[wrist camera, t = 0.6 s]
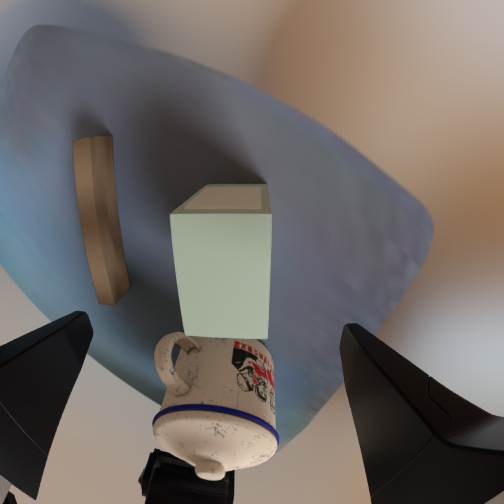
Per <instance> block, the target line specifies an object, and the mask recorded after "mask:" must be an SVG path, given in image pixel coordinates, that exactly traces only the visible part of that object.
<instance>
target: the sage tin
mask: <svg viewBox="0 0 504 504" xmlns="http://www.w3.org/2000/svg"><path fill="white" fill-rule="evenodd" d="M170 224H171V235H172V245H173V254H174V263H175V271H176V279H177V287H178V294H179V301H180V308H181V314H182V320H183V327H184V332H185V335H186V336H200V337H217V338H241V339H268V317H269V292H270V264H271V231H272V211H271V204H270V198H269V191H268V184H207V185H205V186H204V187H203V188H202V189H200V190H199V191H198V192H196V193H195V194H194V195H193V196H191V197H190V198H189V199H188V200H186V201H185V202H184V203H183V204H181V205H180V206H179V207H178V208H177V209H175V210H174V211H173V212H172V213H170Z"/></svg>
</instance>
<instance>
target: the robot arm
mask: <svg viewBox="0 0 504 504" xmlns="http://www.w3.org/2000/svg"><path fill="white" fill-rule="evenodd" d="M92 337H93V328H92V326H91V323H90V320H89V317H88V314H87V313H86V312H83V311H75V312H73V313H71V314H68V315H66V316H64V317H62V318H60V319H57V320H55V321H53V322H51V323H49V324H47V325H44V326H42V327H40V328H38V329H36V330H34V331H31V332H29V333H27V334H25V335H23V336H21V337H19V338H16V339H14V340H12V341H10V342H8V343H6V344H4V345H2V346H0V504H17V502H16V499H15V496H14V495H13V494H12V493H11V492H10V491H9V489H10V487H11V485H14V486H15V487H17V488H18V489H19V490H21V491H22V492H24V493H25V494H27V495H28V496H30V497H31V498H33V499H34V500H36V498H37V495H38V491H39V487H40V483H41V479H42V475H43V472H44V468H45V465H46V461H47V458H48V454H49V451H50V448H51V445H52V442H53V439H54V436H55V433H56V430H57V427H58V425H59V422H60V419H61V417H62V414H63V411H64V409H65V406H66V404H67V401H68V399H69V396H70V394H71V392H72V389H73V387H74V384H75V382H76V380H77V378H78V375H79V373H80V371H81V368H82V365H83V363H84V360H85V357H86V354H87V351H88V348H89V345H90V343H91V340H92ZM340 355H341V361H342V368H343V375H344V382H345V387H346V392H347V396H348V400H349V404H350V408H351V412H352V416H353V420H354V424H355V428H356V432H357V436H358V440H359V445H360V449H361V453H362V458H363V463H364V467H365V472H366V477H367V482H368V486H369V492H370V497H371V504H504V417H500V416H495V415H492V414H490V413H488V412H486V411H485V410H483V409H481V408H479V407H478V406H476V405H474V404H472V403H471V402H469V401H467V400H466V399H464V398H462V397H461V396H459V395H457V394H456V393H454V392H452V391H451V390H449V389H448V388H446V387H445V386H444V385H442V384H440V383H439V382H438V381H436V380H435V379H434V378H432V377H431V376H430V377H429V375H428V374H427V373H425V372H424V371H422V370H421V369H420V368H418V367H417V366H416V365H414V364H413V363H411V362H410V361H409V360H407V359H406V358H404V357H403V356H402V355H400V354H399V353H398V352H396V351H395V350H393V349H392V348H391V347H389V346H388V345H387V344H385V343H384V342H382V341H381V340H379V339H378V338H377V337H375V336H374V335H373V334H371V333H370V332H369V331H367V330H366V329H364V328H363V327H362V326H360V325H359V324H357V323H350V324H345V326H344V328H343V332H342V337H341V341H340ZM234 471H235V470H231V471H225V476H224V477H223V478H222V479H221V480H207V479H203V478H200V477H199V476H197V474H196V473H195V466H193V465H191V464H189V463H187V462H186V461H185V460H182V459H180V458H178V457H176V456H174V455H172V454H171V453H168V452H164V451H160V450H159V449H156V448H155V449H154V452H153V453H150V455H149V459H148V462H147V464H146V467H145V469H144V470H143V472H142V474H141V476H140V477H139V480H138V482H139V483H140V485H141V488H142V496H145V497H146V500H145V504H233V500H234Z"/></svg>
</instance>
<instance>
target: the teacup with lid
mask: <svg viewBox="0 0 504 504" xmlns="http://www.w3.org/2000/svg"><path fill="white" fill-rule="evenodd" d="M174 344H177V345H179V346H180V347H181V350H180V353H179V356H178V358H177V361H176V364H175V367H174V366H173V363H172V358H171V352H172V348H173V346H174ZM154 362H155V367H156V370H157V373H158V375H159V377H160V379H161V380H162V382H163V383H164V384H165V386H166V387H167V391H166V393H165V396H164V399H163V403H162V406H161V409H160V412H159V413H157V414H156V416H155V417H154V419H153V423H152V424H153V432H154V436H155V438H156V440H157V441H158V443H159V444H160V445H161V446H162V447H163V448H164V449H165V450H167V451H168V452H169V453H171V454H172V455H174V456H176V457H178V458H180V459H182V460H185V461H186V462H187V463H189V464H191V465H193V466H195V473H196V474H197V476H199V477H200V478H203V479H207V480H221V479H222V478H223V477H224V476H225V471H231V470H235V469H240V468H247V467H252V466H255V465H258V464H260V463H263V462H265V461H266V460H268V459H269V458H270V457H272V455H273V454H274V453H275V451H276V449H277V447H278V444H279V436H278V433H277V432H276V430H275V396H274V367H273V360H272V357H271V354H270V353H269V351H268V350H267V348H266V347H265V346H264V345H263V344H262V343H261V342H259V341H258V340H257V339H241V338H217V337H200V336H192V337H190V336H186V335H185V333H183V332H173V333H170V334H168V335H166V336H164V337H163V338H162V339H161V340H160V341H159V342H158V344H157V346H156V348H155V352H154Z"/></svg>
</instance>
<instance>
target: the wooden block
mask: <svg viewBox="0 0 504 504" xmlns="http://www.w3.org/2000/svg"><path fill="white" fill-rule="evenodd" d="M73 157H74V172H75V183H76V192H77V200H78V208H79V215H80V221H81V227H82V233H83V239H84V244H85V249H86V254H87V258H88V263H89V267H90V271H91V276H92V280H93V283H94V287H95V291H96V295H97V298H98V302H99V304H107V305H116V303H117V302H118V301H119V300H120V298H121V297H122V296H123V295H124V293H125V292H126V291H127V290H128V288H129V287H130V282H129V277H128V272H127V267H126V261H125V256H124V250H123V244H122V238H121V231H120V224H119V216H118V208H117V198H116V188H115V176H114V161H113V137H112V136H92V137H86V138H81V139H77V140H73Z"/></svg>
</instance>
